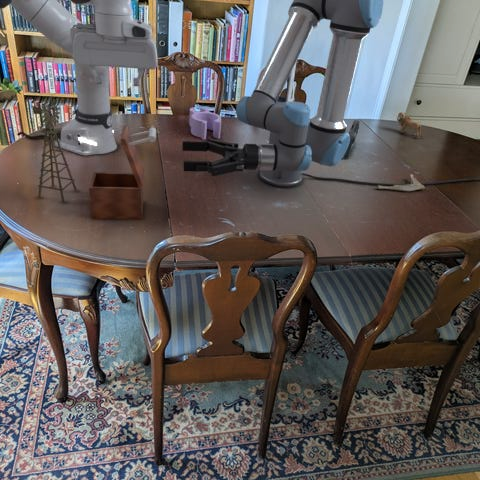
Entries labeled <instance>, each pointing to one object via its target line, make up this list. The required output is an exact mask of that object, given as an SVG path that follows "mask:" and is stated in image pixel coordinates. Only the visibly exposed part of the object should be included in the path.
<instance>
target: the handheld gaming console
mask: <svg viewBox="0 0 480 480" xmlns="http://www.w3.org/2000/svg"><path fill="white" fill-rule="evenodd" d="M360 123H361V122H360V120H358V119H354V120H353V122H352V124H351V127H350V129H349V131H348V132H347V133H348V134H349V135H350V143H349V146H348V148H347V150H346V152H345V154H344V156H343V158H342V159H349V158H350V156H351V153H352V151H353V148H354V145H355V144H356V141H357V136H358V133H359V129H360Z"/></svg>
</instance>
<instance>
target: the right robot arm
mask: <svg viewBox="0 0 480 480" xmlns="http://www.w3.org/2000/svg"><path fill="white" fill-rule="evenodd" d="M383 9H384V0H292V2H291V4H290V6H289V9H288V11H287V13H288V15H287V16H288V19H287V20H286V22H285V25H284V27H283V29H282V31H281V33H280V35H279V37H278V39H277V41H276V44H275V45H274V48H273V50H272V52H271V54H270V56H269V58H268V60H267V62H266V65H265V66H264V69H263V71H262V73H261V75H260V77H259V78H258V81H257V83H256V85H255V87H254V89H253V91H252V93H251V95H249V96H248V95H247V96H246V95H245V96H242V97H241V99H238V102H237V104H236V108H235V116H236V118H237V120H238V121H239V122H242V123H244V124H245V125H248V126H251V127H255V128H259V129H262V130H265V131H268V132H269V140H268V143H259V144H257V143H244V145H243V147H242V148H239V143H237V142H229V141H228V142H227V141H223V140H219V139H214V138H210V137H208V138H206V140H205V141H197V140H196V141H192V140H183V141H182V151H183V152H205V153H206V152H210V153H214V154H216V155H219V156H222V158H220V159H217V160H214V161H211V160H203V161H202V160H183V172H197V173H198V172H200V173H201V172H202V173H203V172H205V173H208V174H210V176H211V177H218V176H221V175H225V174H226V175H227V174H230V173H235V172H243V171H256V170H258V171H259V178H260V180H262V181H263V182H264V183H266V184H268V185H271V186H274V187H278V188H293V187H297V186H299V185H300V184H302V181H303V176H305V177H307V178H310V179H311V178H312V179H315V180H320V181H321V180H324V181H338V182H345V183H352V184H359V185H360V184H362V185H370V186H378V185H380V186H387V187H393V186H394V185H409V184H410V185H411V183H381V182H368V181H360V180H352V179H344V178H335V177H322V176H315V175H312V174H310V173H309V174H308V173H306V172H305V173H304V171H307V170H309V169H310V167H311V164H312V162H314V163H317V164H319V165H320V166H322V165H323V166H326V167H330V168H331V167H335V166H336V165H338V164H339V163H340V162H341V160H342V159H344V158H343V156H344V154H345V152H346V150H347V148H348V146H349V143H350V135H349V134H348V133H349V132H346V131H347V126H348V125H347V123H346V122H345V121H344V120H345V119H344V118H345V114H346V110H347V106H348V102H349V98H350V95H351V94H350V93H351V89H352V86H353V80H354V76H355V72H356V68H357V64H358V60H359V55H360V52H361V47H362V43H363V40H364V39H365V38H366V37H368V36H369V35H370V32H371V29H374V28H376V27H377V26H378V24H379V23H380V19H381V17H382V14H383ZM321 20H328V21H330V22H329V27H328V28H329V30H330V32H331V33H332V39H331V44H330V48H329V52H328V58H327V62H326V67H325V72H324V77H323V82H322V87H321V92H320V96H319V102H318V106H317V110H316V115H314V116H313V117H312V118H311V119H310V115H311V107H310V106H309V105H308V104H306V103H304V102H301V101H294V100H293V101H291V102H287V103H285V104H284V107H282V106H279V105H276V102H277V100H278V98H279V96H280V97H281V94H282V92H283V89H284V88H285V85H286V84H287V83H288V77H289V75H290V73H291V71H292V69H293V67H294V65H295V63H296V64H297V62H298V59H299V56H300V55H301V53H302V51H303V49H304V47H305V44H306V43H307V40H308V39H309V36H310V35H311V32H312V30H314V29H316V28H317V27H318V26H319V23H320V22H321ZM296 61H297V62H296ZM473 181H480V178H477V177H476V178H461V179H450V180H441V181H432V182H431V181H430V182H420V183H421V184H422V185H424V186H428V185H429V186H430V185H440V184H448V183H457V182H458V183H459V182H473Z"/></svg>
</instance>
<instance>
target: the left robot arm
mask: <svg viewBox="0 0 480 480" xmlns="http://www.w3.org/2000/svg"><path fill="white" fill-rule="evenodd" d="M69 1H70V2H71V3H73V4H75V5H79V6H93V8H94V23H83V22H82V21H81V20H79V19H78V18H77V17H76V16H75V15H74V14H72V13H71V12H70V11H69V10H68V9H67V8H66V7H65V6H64V5H62V4H61V3H60V2H59V1H58V0H0V9H5V8H7V7H8V6H11V7H12V8H13V9H14V10H15V11H16V12H17V13H18V14H19V15H20V16H21V17H22V18H23V19H24V20H25V21H26V22H28V23H29V24H30V26H32V27H33V28H35V30H37V31H38V32H39V33H40V34H41V35H43V36H44V37H45V38H46V39H47V40H48V41H50V42H51V43H53V44H54V45H56V46H57V47H59V48H60V49H62V50H63V51H64V52H66V53H67V54H68V55H70V56H71V58H72V60H73V62H74V63H73V64H74V74H75V88H76V99H77V108H76V109H75V110H74V111H71V115H72V116H74V115H75V116H74V118H73V119H72V120H71V121H69V122H68V123H67V124H65V125H64V126H63V127H60V129H62V130H61V131H59V132H58V133H56V135H57V138H59V139H58V140H59V143H60V146H61V148H62V150H65V151H69V152H72V153H74V154H78V155H80V156H84V157H85V156H86V157H87V156H92V155H105V154H108V153H111V152H114V151H115V150H116V149H117V148H118V145H117V142H116V140H115V135H114V132H115V131H114V130H113V111H112V109H111V97H110V68H122V69H123V68H124V69H137V73H138V74H137V76H136V77H133V79H132V80H133V81H132V82H133V84H132V85H133V87H140V85H141V83H140V80H141V78H142V76H143V75H144V72H145V71H144V70H156V68H157V67H158V66H159V65H158V64H159V63H158V62H159V60H158V50H157V44H156V41H155V39H154V37H152V35H153V27H152V25H150V24H148V23H146V22H144V21H141V20H138V19H136V18H134V11H133V7H132V0H69ZM21 135H22V136H24V137H26V139H27V138H28V139H31V140H33V139H34V140H35V139H40V138H45V134H39V135H29V134H27V133H26V132H24V131H19V132H18V133H17V134H16V136H21ZM48 136H49V135H47V137H48ZM52 137H55V135H54V134H52ZM52 139H53V138H52ZM47 140H49V138H47ZM53 140H54V139H53ZM54 147H57V148H59V146H58V143H57V141H55V142H54Z"/></svg>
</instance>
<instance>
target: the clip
mask: <svg viewBox="0 0 480 480" xmlns="http://www.w3.org/2000/svg"><path fill="white" fill-rule="evenodd" d="M188 119H189V120H188V121H189V122H188V125H189V127H190V134H191V135H193V136H195V137H197V138H201V140H205V141H206V140H207V130H211V131H213V132H212V137H213V139H214V138H215V139H217V140H219V139H221V131H222V116H221V115H219V114H217V113H215V112H211V111H210V109H209V108H206V107H203V106H200V107H199V111H196V108H195V107H190V108H189V118H188Z"/></svg>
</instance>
